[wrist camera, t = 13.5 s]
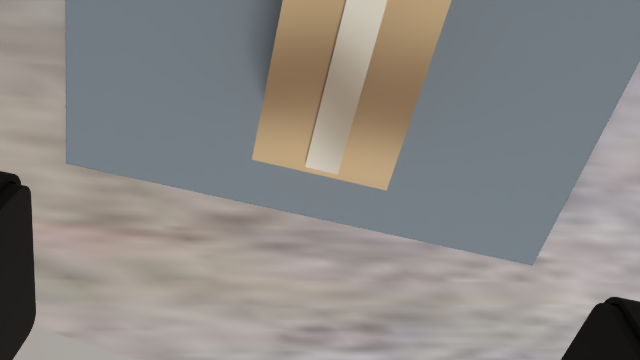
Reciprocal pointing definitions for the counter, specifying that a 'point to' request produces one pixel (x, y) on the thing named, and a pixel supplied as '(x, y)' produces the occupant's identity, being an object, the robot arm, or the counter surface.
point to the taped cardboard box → (346, 85)
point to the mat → (421, 137)
